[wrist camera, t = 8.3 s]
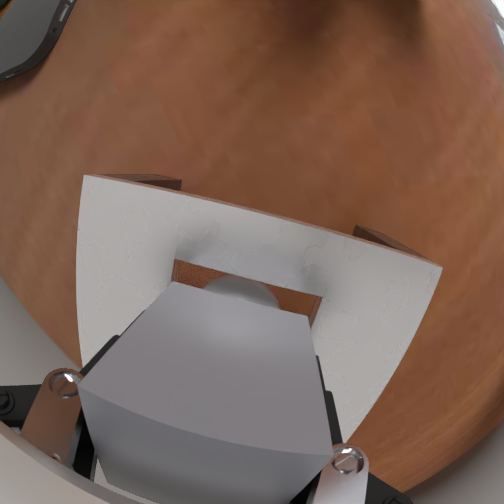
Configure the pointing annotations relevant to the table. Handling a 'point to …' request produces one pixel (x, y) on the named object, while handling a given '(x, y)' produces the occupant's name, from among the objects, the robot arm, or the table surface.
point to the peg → (210, 399)
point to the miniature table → (251, 275)
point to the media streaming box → (30, 33)
